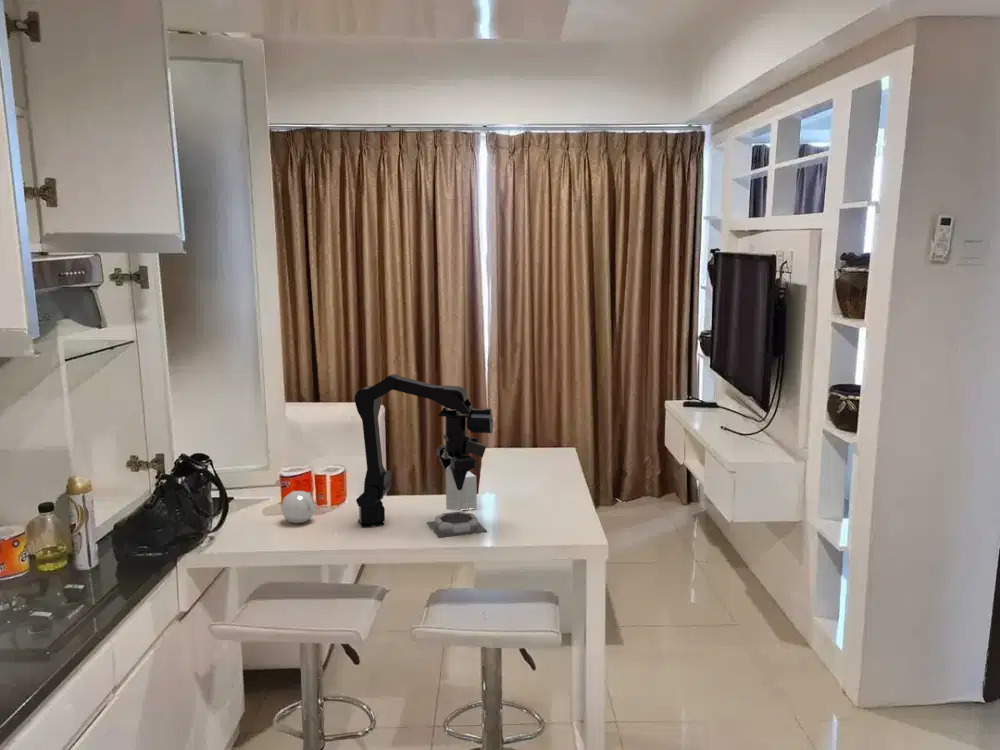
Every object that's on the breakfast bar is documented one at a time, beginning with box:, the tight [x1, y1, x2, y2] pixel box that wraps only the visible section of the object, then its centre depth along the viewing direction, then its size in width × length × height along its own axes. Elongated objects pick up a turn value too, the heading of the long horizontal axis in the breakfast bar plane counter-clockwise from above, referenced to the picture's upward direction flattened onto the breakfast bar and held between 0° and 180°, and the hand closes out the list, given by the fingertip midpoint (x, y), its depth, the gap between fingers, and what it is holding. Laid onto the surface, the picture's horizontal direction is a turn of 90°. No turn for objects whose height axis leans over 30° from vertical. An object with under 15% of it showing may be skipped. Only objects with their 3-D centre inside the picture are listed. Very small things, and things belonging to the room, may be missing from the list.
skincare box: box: [445, 464, 465, 511], centre depth 212 cm, size 6×4×12 cm
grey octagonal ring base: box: [426, 511, 488, 539], centre depth 213 cm, size 14×13×3 cm
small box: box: [462, 470, 478, 509], centre depth 232 cm, size 8×6×10 cm
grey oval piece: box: [280, 490, 316, 524], centre depth 220 cm, size 9×10×15 cm
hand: (455, 486), depth 212 cm, fingers closed on skincare box, 7 cm apart
